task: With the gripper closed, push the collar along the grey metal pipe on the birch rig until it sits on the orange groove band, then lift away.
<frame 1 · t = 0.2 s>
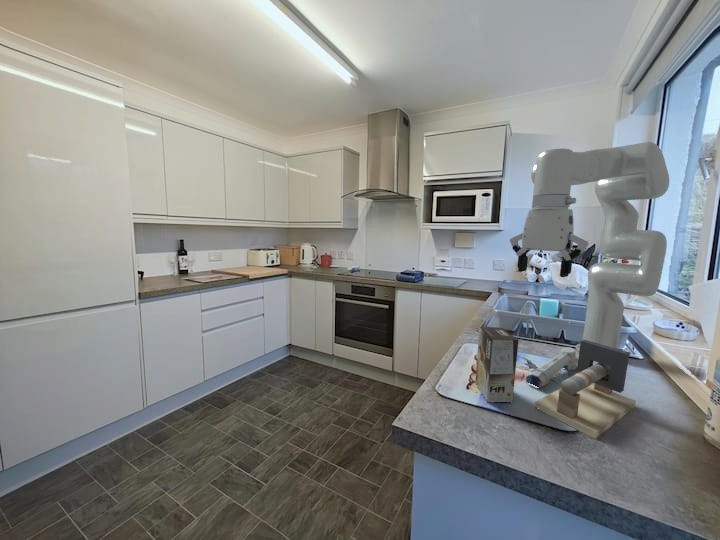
hand: (542, 273, 74), 31 cm above the table, tool pointing down, fingers open, 9 cm apart
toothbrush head: (552, 376, 86), on the table
collar: (601, 364, 72), point 9 cm above the table, slide at 0.0 cm
coffee box: (492, 393, 76), on the table
pipe rig: (585, 407, 70), on the table
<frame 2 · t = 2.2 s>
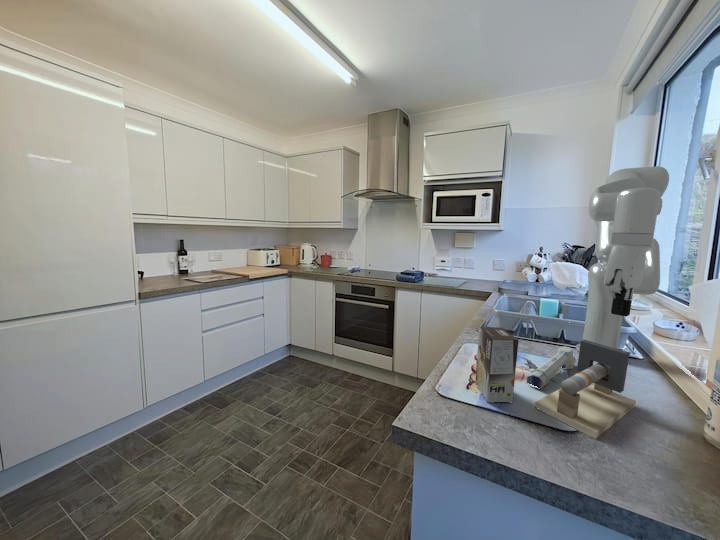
hand: (619, 314, 74), 21 cm above the table, tool pointing down, fingers closed
nothing on the table moved.
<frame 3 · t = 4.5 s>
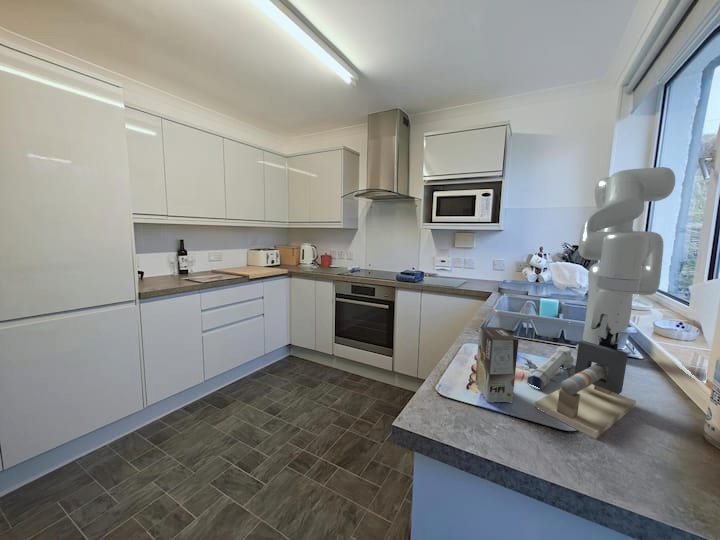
hand: (606, 357, 73), 11 cm above the table, tool pointing down, fingers closed
collar: (599, 365, 72), point 9 cm above the table, slide at 1.1 cm, touching gripper
everything else where it was.
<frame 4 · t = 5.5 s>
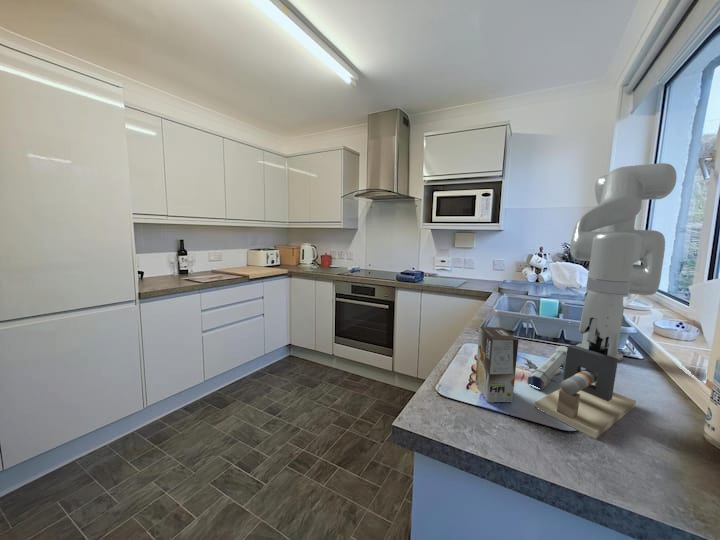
hand: (596, 362, 70), 11 cm above the table, tool pointing down, fingers closed
collar: (589, 371, 68), point 9 cm above the table, slide at 6.9 cm, touching gripper
everything else where it was.
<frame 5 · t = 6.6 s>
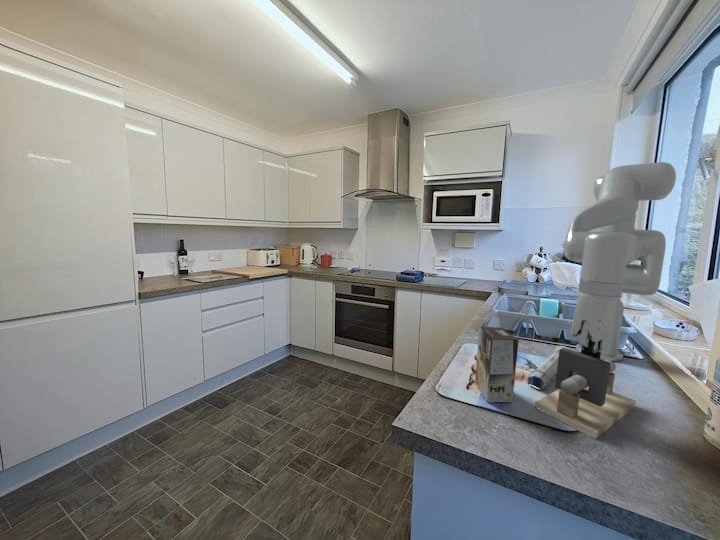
hand: (588, 366, 68), 11 cm above the table, tool pointing down, fingers closed
collar: (581, 375, 66), point 9 cm above the table, slide at 10.8 cm, touching gripper
everything else where it was.
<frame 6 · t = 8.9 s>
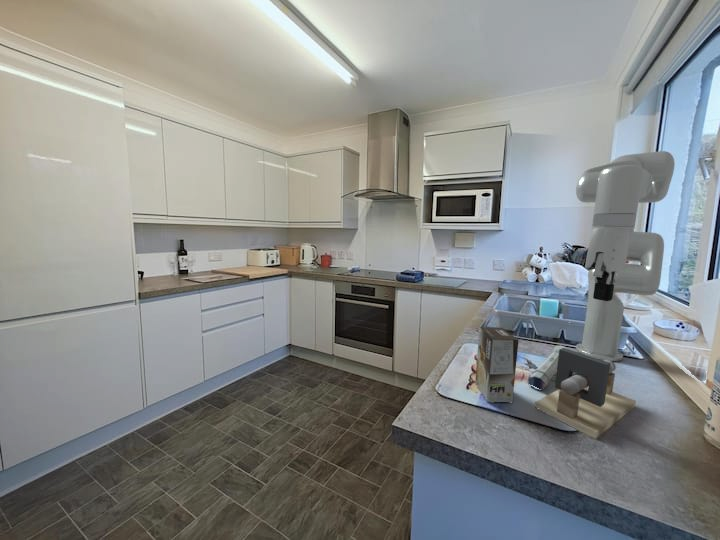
hand: (602, 299, 71), 25 cm above the table, tool pointing down, fingers closed
collar: (580, 375, 66), point 9 cm above the table, slide at 10.9 cm
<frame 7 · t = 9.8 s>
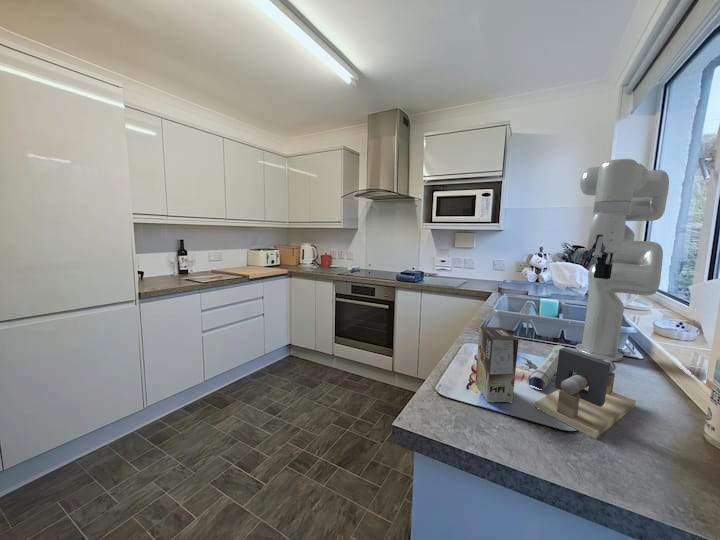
hand: (601, 278, 80), 29 cm above the table, tool pointing down, fingers closed
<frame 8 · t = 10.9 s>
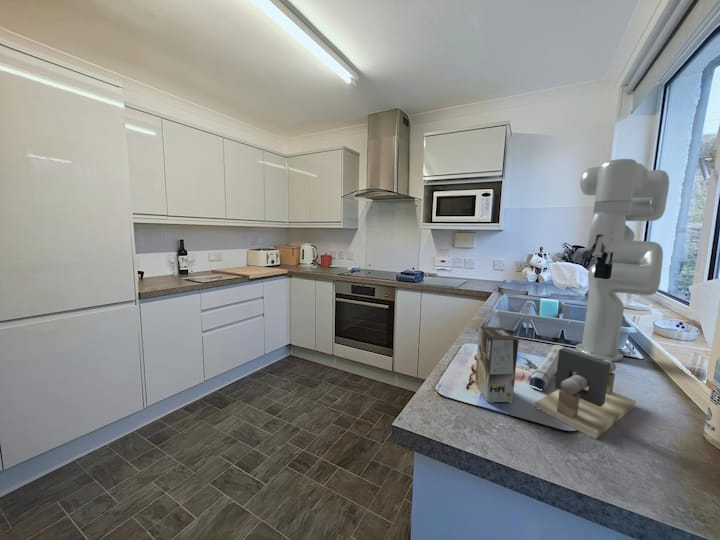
hand: (601, 278, 80), 29 cm above the table, tool pointing down, fingers closed
at the end: collar slide at 10.9 cm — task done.
